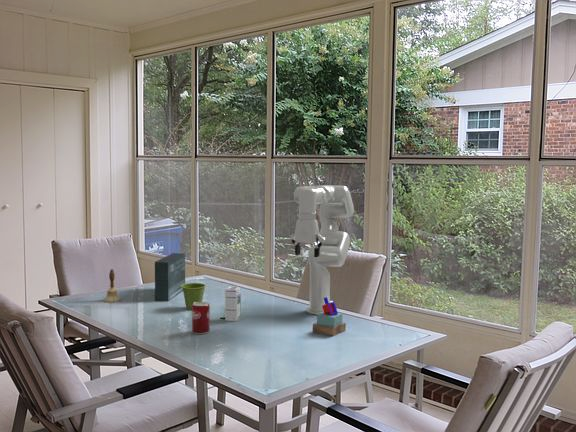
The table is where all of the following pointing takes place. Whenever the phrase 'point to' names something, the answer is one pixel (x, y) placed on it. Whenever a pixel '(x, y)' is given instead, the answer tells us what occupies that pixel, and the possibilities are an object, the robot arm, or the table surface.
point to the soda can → (200, 317)
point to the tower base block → (329, 329)
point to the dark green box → (169, 276)
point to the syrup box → (232, 303)
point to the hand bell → (112, 290)
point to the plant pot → (193, 293)
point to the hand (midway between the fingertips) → (307, 255)
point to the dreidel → (329, 307)
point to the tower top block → (329, 319)
